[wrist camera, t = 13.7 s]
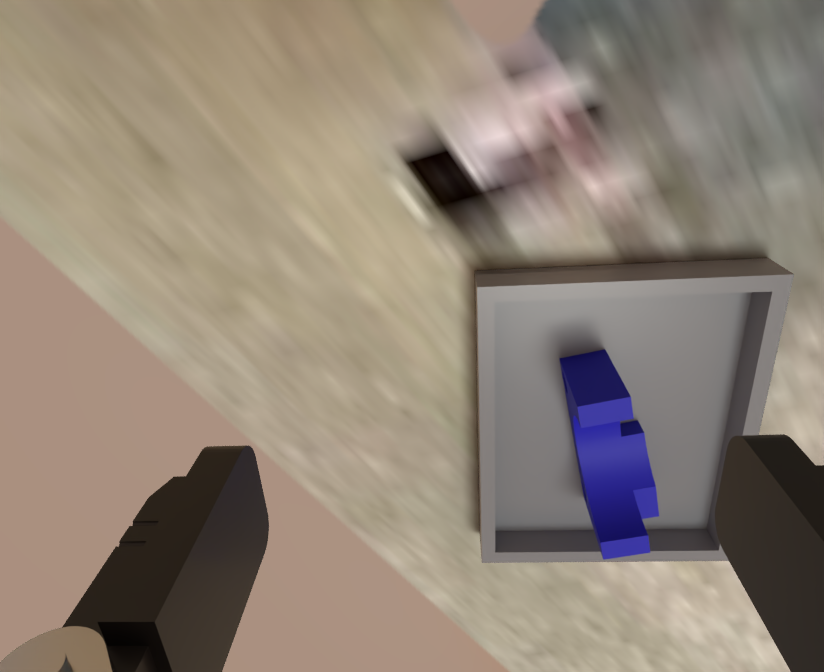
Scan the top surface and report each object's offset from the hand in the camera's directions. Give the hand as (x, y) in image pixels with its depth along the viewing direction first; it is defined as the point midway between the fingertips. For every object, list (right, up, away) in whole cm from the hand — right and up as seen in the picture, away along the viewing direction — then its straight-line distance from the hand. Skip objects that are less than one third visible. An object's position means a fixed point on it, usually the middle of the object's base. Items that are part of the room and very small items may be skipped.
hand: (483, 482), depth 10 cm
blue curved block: (+12, -4, +32) cm, 34 cm away
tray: (+12, -3, +32) cm, 34 cm away
